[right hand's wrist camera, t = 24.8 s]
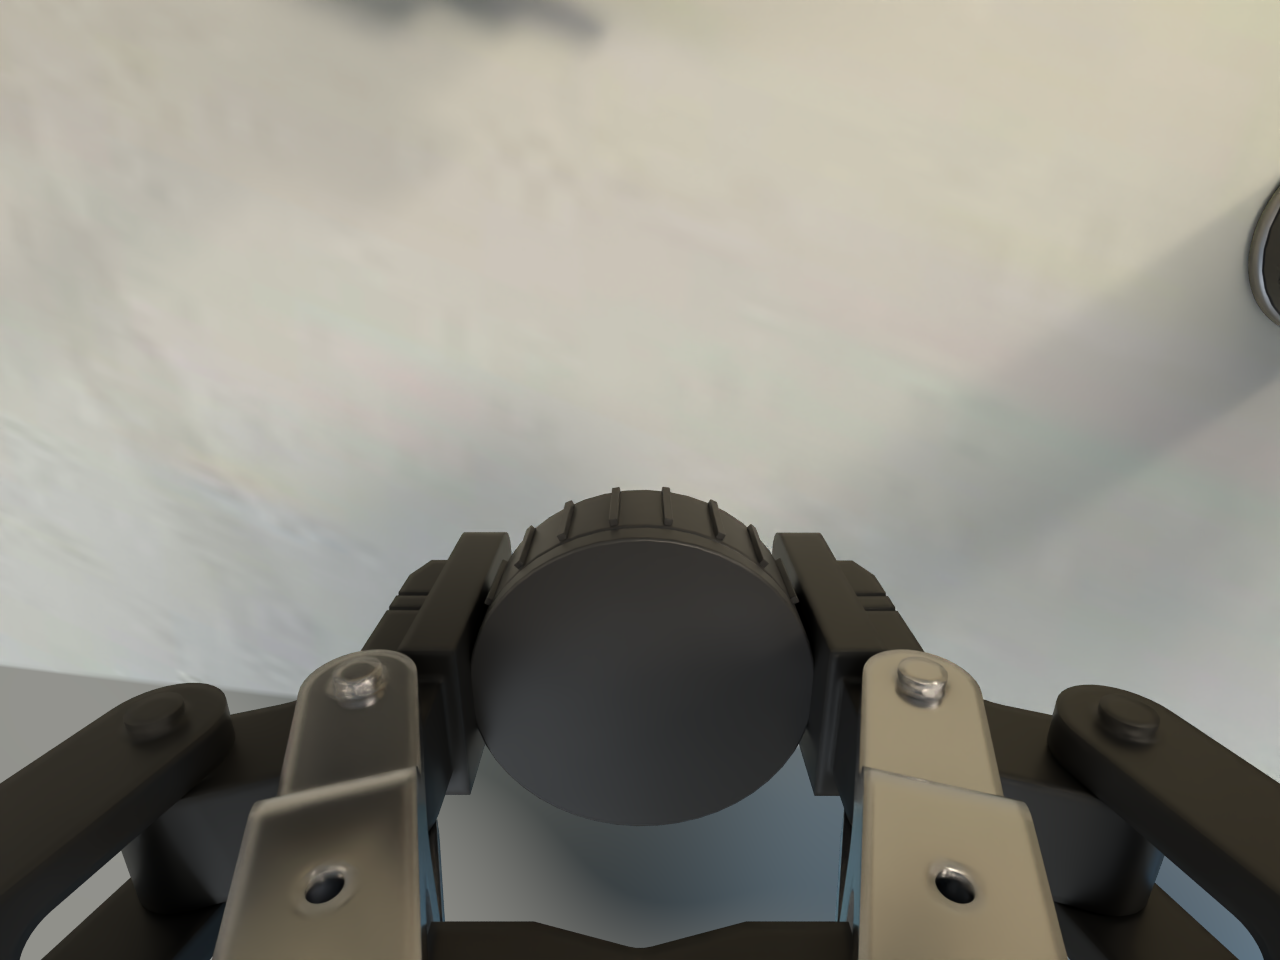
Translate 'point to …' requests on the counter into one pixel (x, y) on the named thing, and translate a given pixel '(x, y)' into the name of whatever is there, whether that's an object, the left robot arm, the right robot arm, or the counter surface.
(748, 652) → the lid
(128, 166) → the counter surface
